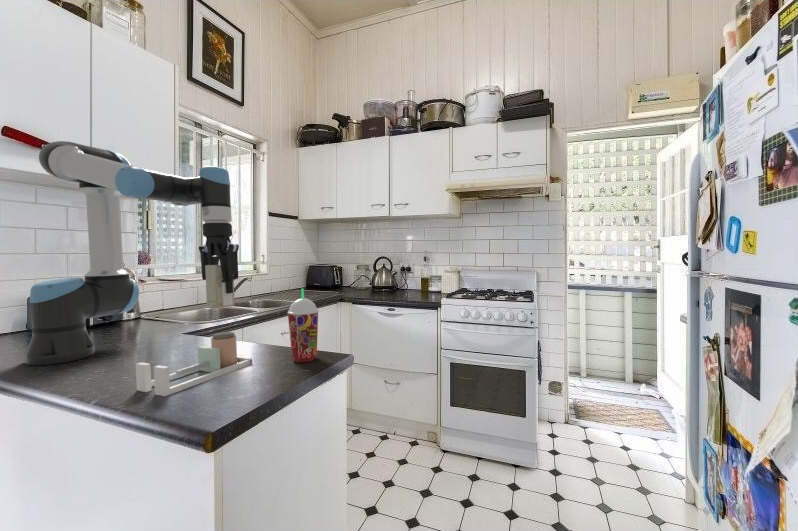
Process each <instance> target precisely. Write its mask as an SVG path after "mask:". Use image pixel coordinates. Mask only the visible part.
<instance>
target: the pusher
mask: <svg viewBox="0 0 798 531" xmlns="http://www.w3.org/2000/svg"><path fill="white" fill-rule="evenodd" d="M197 359H198V361H197V363H195V364H193V365H189V366H187V367H183V368H179V369H177V370H175V372H176V375H182V374H185V373H188V372H191V371H194V370H197V369H199V370H200V371H201V372H207V373H211V372H214V371H217V370H220V348H212V347H211V346H202V345H201V346H198V347H197ZM200 371H199V372H200Z"/></svg>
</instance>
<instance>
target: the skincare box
mask: <svg viewBox="0 0 798 531" xmlns="http://www.w3.org/2000/svg"><path fill="white" fill-rule="evenodd" d="M205 273H206V280H205V291H206V293H205V295H206V296H205V297H206V298H205V299H206V308H207V309H223V308H228V307H229V308H230V307H235V305H236V304H235V302H236V300H235V299H236V298H235V280H234V281H233V293H232V302H233V304H232V305H226V306H223V301H222V280H224V279H223V275H222V270H221V265H220V264H218V265H205Z"/></svg>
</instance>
